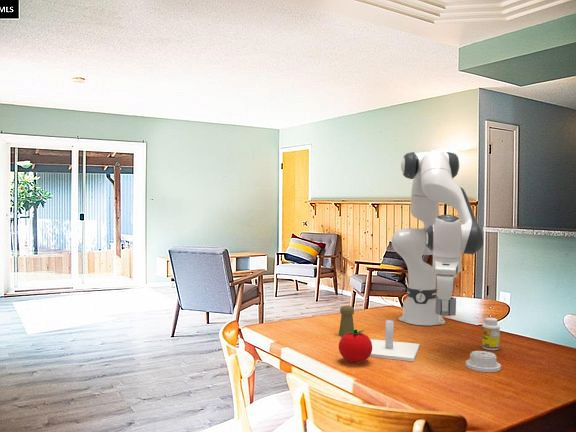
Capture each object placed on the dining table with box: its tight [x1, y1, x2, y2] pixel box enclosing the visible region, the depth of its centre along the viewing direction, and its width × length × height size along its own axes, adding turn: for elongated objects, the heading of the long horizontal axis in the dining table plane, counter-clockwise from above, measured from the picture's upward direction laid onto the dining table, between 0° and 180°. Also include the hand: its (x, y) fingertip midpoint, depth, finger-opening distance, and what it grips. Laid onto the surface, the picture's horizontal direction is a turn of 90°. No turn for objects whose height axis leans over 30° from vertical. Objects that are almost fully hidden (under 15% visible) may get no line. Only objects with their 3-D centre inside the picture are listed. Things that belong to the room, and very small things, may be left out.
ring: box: [435, 296, 457, 317], centre depth 170 cm, size 6×6×5 cm
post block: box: [369, 319, 420, 362], centre depth 176 cm, size 18×18×10 cm
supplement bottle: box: [481, 317, 501, 351], centre depth 180 cm, size 6×6×10 cm
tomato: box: [338, 329, 372, 364], centre depth 164 cm, size 10×10×10 cm
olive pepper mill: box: [338, 305, 355, 338], centre depth 196 cm, size 6×6×11 cm
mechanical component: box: [465, 350, 502, 373], centre depth 160 cm, size 10×4×10 cm
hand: (445, 308), depth 170 cm, fingers closed on ring, 6 cm apart
